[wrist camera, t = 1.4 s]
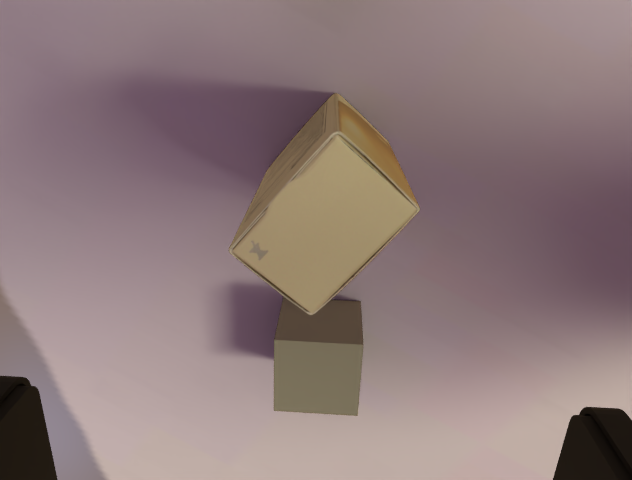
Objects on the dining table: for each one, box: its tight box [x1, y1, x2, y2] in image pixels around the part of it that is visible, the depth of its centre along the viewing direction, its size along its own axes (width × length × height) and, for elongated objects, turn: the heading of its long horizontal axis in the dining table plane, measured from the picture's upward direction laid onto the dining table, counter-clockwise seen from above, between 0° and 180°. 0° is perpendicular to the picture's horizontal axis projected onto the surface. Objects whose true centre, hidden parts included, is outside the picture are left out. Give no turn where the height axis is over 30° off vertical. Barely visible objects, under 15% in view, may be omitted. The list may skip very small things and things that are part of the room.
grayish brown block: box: [274, 297, 363, 416], centre depth 33 cm, size 5×5×5 cm
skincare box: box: [229, 93, 420, 315], centre depth 25 cm, size 6×4×12 cm
